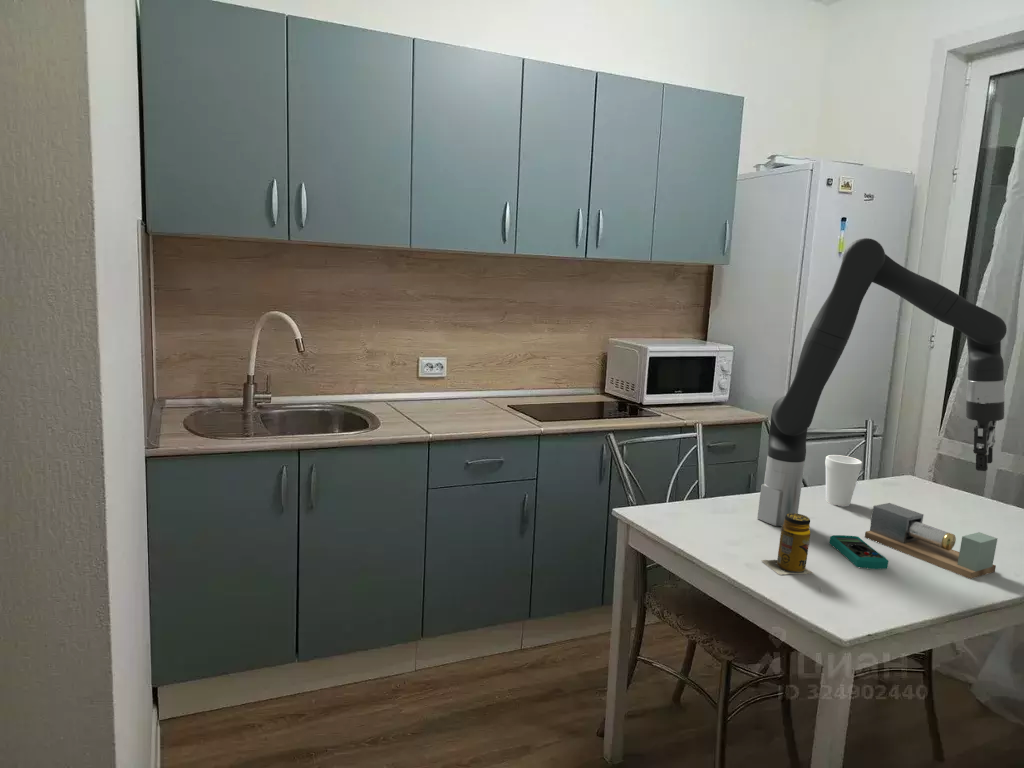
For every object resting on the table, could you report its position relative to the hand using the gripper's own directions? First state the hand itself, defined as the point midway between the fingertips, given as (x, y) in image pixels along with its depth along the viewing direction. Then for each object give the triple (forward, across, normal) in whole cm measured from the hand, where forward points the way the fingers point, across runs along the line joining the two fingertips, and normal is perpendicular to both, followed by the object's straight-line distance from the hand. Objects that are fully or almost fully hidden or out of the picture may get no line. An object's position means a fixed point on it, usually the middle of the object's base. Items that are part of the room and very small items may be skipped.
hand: (984, 466), depth 173 cm
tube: (+17, +7, -14) cm, 24 cm away
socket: (+20, +12, 0) cm, 24 cm away
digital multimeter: (+19, +23, -22) cm, 38 cm away
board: (+21, +8, -10) cm, 25 cm away
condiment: (+17, +43, -32) cm, 56 cm away
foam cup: (+18, -16, -38) cm, 45 cm away
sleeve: (+18, +5, -18) cm, 26 cm away
